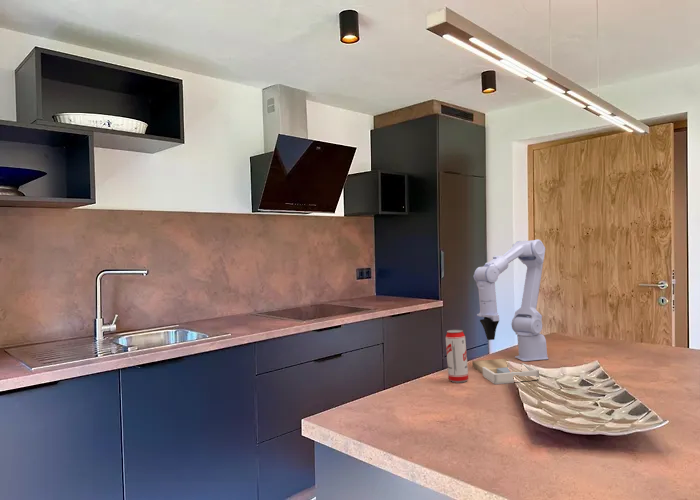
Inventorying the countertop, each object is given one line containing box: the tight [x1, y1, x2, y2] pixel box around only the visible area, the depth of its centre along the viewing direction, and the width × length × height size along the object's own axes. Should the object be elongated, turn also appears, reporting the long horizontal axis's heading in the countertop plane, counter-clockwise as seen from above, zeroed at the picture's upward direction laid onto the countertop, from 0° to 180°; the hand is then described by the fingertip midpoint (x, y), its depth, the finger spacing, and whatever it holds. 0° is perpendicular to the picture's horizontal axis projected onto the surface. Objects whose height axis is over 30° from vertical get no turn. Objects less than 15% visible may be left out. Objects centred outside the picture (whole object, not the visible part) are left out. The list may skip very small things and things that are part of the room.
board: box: [471, 358, 510, 375], centre depth 168 cm, size 12×14×2 cm
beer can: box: [445, 329, 469, 384], centre depth 157 cm, size 6×6×16 cm
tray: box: [482, 362, 540, 385], centre depth 155 cm, size 14×11×3 cm
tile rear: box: [497, 367, 509, 374], centre depth 158 cm, size 4×4×2 cm
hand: (490, 339), depth 171 cm, fingers closed
